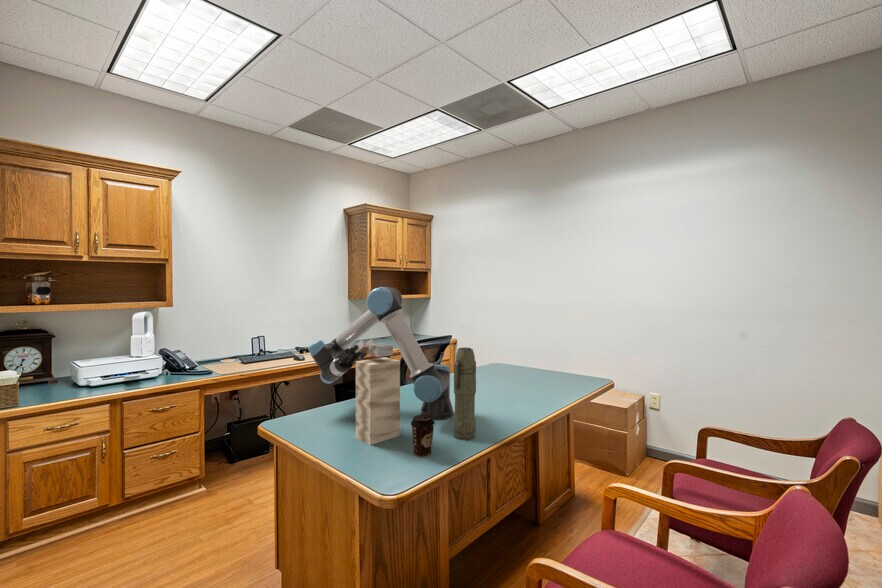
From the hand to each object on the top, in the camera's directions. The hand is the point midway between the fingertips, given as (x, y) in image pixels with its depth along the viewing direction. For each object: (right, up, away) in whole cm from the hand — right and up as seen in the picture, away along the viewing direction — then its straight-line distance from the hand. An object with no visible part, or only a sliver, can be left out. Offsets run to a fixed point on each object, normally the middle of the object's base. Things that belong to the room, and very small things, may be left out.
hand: (367, 342), depth 166 cm
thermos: (+39, -37, -3) cm, 54 cm away
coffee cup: (+23, -37, -20) cm, 48 cm away
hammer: (+2, -4, -2) cm, 5 cm away
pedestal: (+5, -37, -4) cm, 37 cm away
